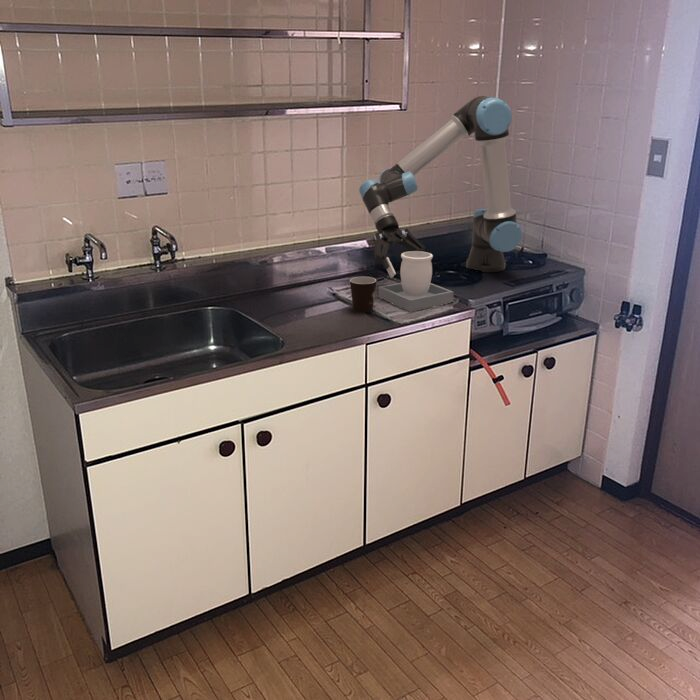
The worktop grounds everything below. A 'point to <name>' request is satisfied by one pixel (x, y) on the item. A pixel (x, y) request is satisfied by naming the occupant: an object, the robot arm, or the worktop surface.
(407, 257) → the jar
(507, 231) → the robot arm
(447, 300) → the tray
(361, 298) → the coffee mug
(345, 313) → the worktop surface
